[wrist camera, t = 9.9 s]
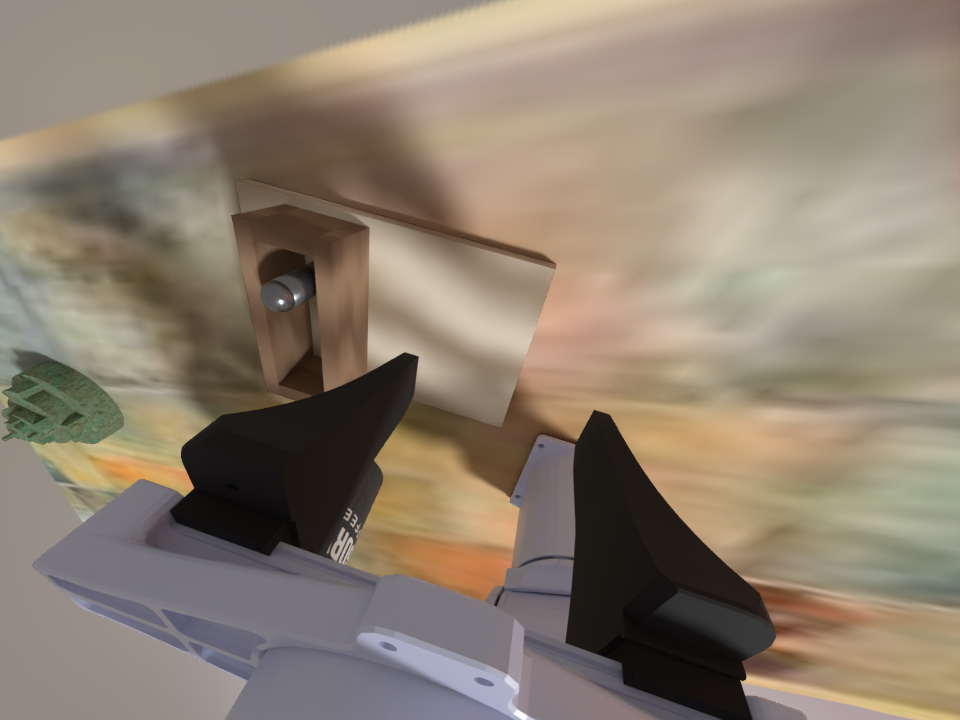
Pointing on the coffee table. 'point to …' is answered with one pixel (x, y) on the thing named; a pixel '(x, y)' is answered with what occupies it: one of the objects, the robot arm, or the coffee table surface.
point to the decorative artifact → (59, 407)
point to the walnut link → (340, 298)
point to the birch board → (437, 305)
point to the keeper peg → (289, 289)
